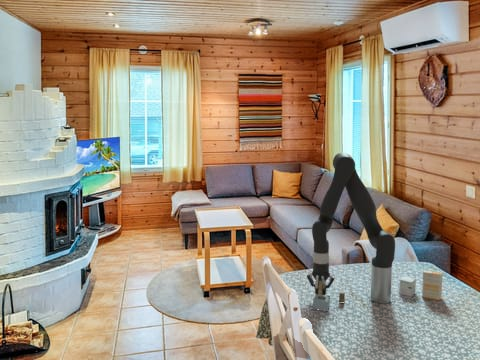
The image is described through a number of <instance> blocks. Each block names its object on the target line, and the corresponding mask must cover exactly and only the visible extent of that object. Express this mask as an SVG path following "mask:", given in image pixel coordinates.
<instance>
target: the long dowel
mask: <svg viewBox="0 0 480 360" xmlns="http://www.w3.org/2000/svg"><path fill="white" fill-rule="evenodd" d="M318 294H320V295H323V285H322V281H321V280H319V282H318Z"/></svg>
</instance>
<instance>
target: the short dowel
mask: <svg viewBox="0 0 480 360" xmlns="http://www.w3.org/2000/svg"><path fill="white" fill-rule="evenodd" d="M345 294H346V293H345V292H342V291H341V292H339V294H338V295H339V296H338V297H339V299H338V300H339V301H338V303H339V302H344V303H345Z"/></svg>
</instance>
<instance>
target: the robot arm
mask: <svg viewBox="0 0 480 360" xmlns="http://www.w3.org/2000/svg"><path fill="white" fill-rule="evenodd" d="M332 166H333V169H334V173H333V177H332V180H331V183H330V185H329V188H328V190H326V192H325V195H324V197H323V200H322V202H321V205H320V207H319V217H318V219H317V220H316V221H314V223H313V224H312V227H311V233H312V234H311V235H312V239H313V254H312V272H311V273H307V274H306V278H307V281H308V282H309V284H310V286H311V287H314V291H315V292H314V295H316V294H318V282H319V280H321V281H322V285H323V295H326V294H327V289H330V287H331V285H332V284H333V282H334V281H335V279H336V277H335V276H333V275H331V272H330V243H329V240H328V239H327V233H329V232H330V231H331V230H330V229H331V228H332V225H333V222H334V216H335V213H336V210H337V208H338V206H339V202H340V199H341V197H342V195H343V192H344V190H345V189H346V192H347V195H348V198H349V201H350V203H351V205H352V207H353V209H354V211H355V213H356V214H357V217H358V218H359V220H360V222H361V223H362V224H361V225H363V228H364V230H365V232H366V233H365V234H366V236H367V238H368V242H369V243H370V245H371V246H372V248H374V249H375V250H376V251H375V256H374V257H372V258H371V274H370V275H371V276H370V278H371V279H370V300H371V301H372V302H375V303H376V304H377V303H378V304H388V303H391V300H392V294H391V293H392V279H393V277H392V276H393V275H392V274H393V272H392V271H393V262H394V261H395V253H396V239H395V238H394V236H393V235H391V234H390V233H388V232H386V231H385V230H384V229H383V228H382V225H381V224H380V222H379V220H378V216H377V207H376V204H375V202H374V199H373V198H372V196H371V194H370V191H369V190H368V188H367V187H366V185H365V184H364V182H363V181H362V180H361V177H360V176H359V174H358V172H357V169H356V162H355V160H354V158H353V157H352V156H351V155H350V154H349V153H347V152H338V153H336V154H335V155H334V157H333V159H332ZM313 278H314V279H315V281H314V279H313ZM328 279H329V282H328V284H327V280H328Z"/></svg>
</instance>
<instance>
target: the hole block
mask: <svg viewBox="0 0 480 360" xmlns="http://www.w3.org/2000/svg"><path fill="white" fill-rule="evenodd" d="M330 298H331V296H330V295H320V294H314V297H313V299H312V310H313V309H319V310H325V311H329V309H330V307H329V305H331V304H330V303H331V301H330V300H331V299H330ZM328 308H329V309H328Z"/></svg>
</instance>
